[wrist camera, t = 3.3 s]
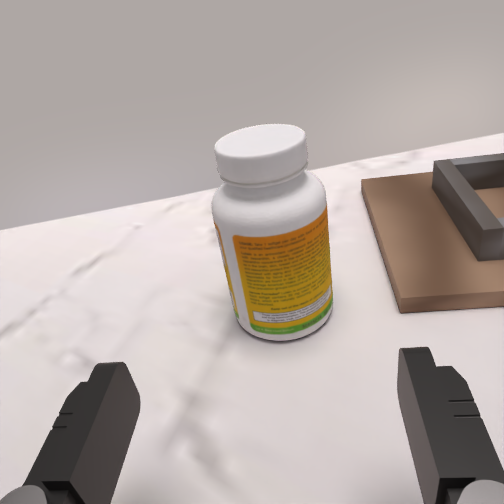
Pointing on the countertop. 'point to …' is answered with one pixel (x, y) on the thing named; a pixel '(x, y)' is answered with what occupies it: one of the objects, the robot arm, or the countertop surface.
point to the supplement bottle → (273, 232)
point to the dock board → (442, 233)
